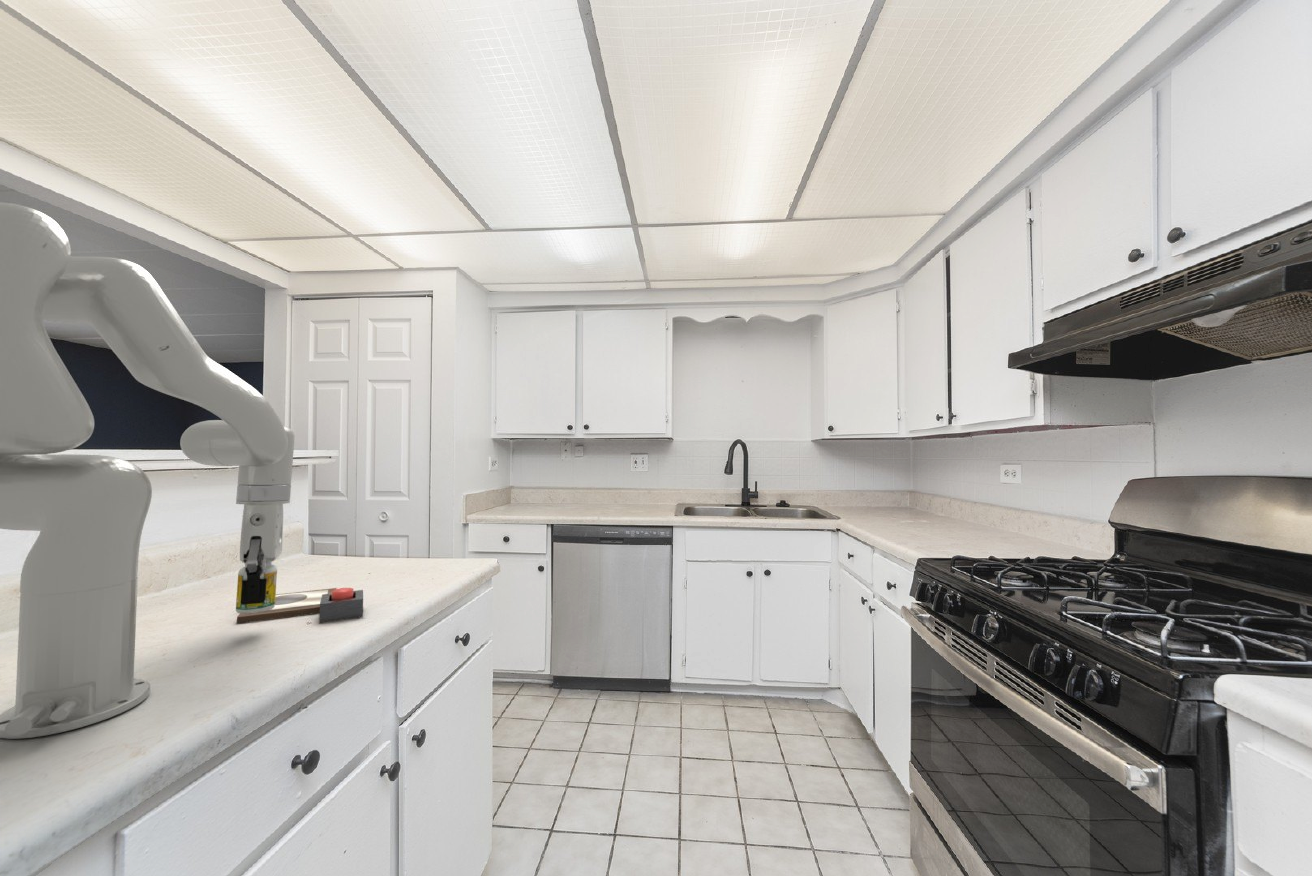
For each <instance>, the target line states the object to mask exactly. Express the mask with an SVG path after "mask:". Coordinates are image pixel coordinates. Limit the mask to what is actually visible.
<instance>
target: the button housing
mask: <svg viewBox="0 0 1312 876" xmlns="http://www.w3.org/2000/svg"><path fill="white" fill-rule="evenodd" d="M363 614H364V590H363V589H358V590H353V598H352V599H344V600H335V601H332V593H331V594H322V598H321V602H320V613H319V615H318V616H319V618H318V619H319V620H318V622H319V624H322V623H330V622H337V621H344V620H351V619H357V618H363V617H364V616H363Z"/></svg>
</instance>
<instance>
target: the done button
mask: <svg viewBox="0 0 1312 876" xmlns="http://www.w3.org/2000/svg"><path fill="white" fill-rule="evenodd" d="M353 591H354V588H353V587H341V588H337V589H335V590H333V591H332V601H335V600H344V599H352V598H353Z"/></svg>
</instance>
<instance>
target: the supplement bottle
mask: <svg viewBox="0 0 1312 876" xmlns="http://www.w3.org/2000/svg"><path fill="white" fill-rule="evenodd" d="M244 557H246V555H245V556H244ZM263 558H264V557H258V560H263ZM271 562H273V561H271V559H267V563H266V571H265V578H267V581H266V595H265V601H264V602H263V603H256V604H245V605H242V604H241V591H242V580H243V576H244V569H245V566H243V567H242V568H240V569H239V571H238V572H237V586H236V601H235V602H236V603H235V612H236V613H238V614H251V613H259V612H264V611H268V610H271V609H273V608H274V606H275V596H276V592H277V578H278V576H277V575H278V568H277V566H276V565H274V564H273V563H272V564H271ZM244 565H245V563H244ZM260 567H261V565H260Z"/></svg>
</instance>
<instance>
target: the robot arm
mask: <svg viewBox="0 0 1312 876" xmlns="http://www.w3.org/2000/svg"><path fill="white" fill-rule="evenodd" d="M44 321H47V322H52V323H60V324H61V323H62V324H90V325H91V326H92V327H93V328H94V330H95V331H96V333H97V334H98V335H99V336H100V337H101V338H102V339H103V341H104V342H105V343H106V344H107V346H108V347H109V348H110V349H111V351H112V352H113V353H114V354H115V355H116V357H117V358H118V359H119V360H120V361H121V363H122V364H123V366H125V368H126V369H127V370H128V372H129V373H130V374H131V376H132V377H133V378H134V379H135V380H136V381H137V382H138V383H141V384H142V385H144V386H145V387H148V388H150V389H153V390H155V391H157V392H160V393H162V394H165V395H168V396H171V397H174V398H177V399H180V400H184V401H185V402H189V403H192V404H193V405H196V406H199V407H201V408H202V409H205V410H206V411H209V412H210V413H212V414H213V415H215V416H217V417H218V418H220V419H221V420H220V419H214V420H213V419H212V420H209V419H208V420H203V421H199V422H196V423H194V424H192V425H190V426H189V427H187V429H185V431H183V433H182V434H181V437H180V440H179V441H180V442H179V445H180V449H181V451H182V453H183V454H184V455H185V456H186V457H187V458H188V459H189V460H190V461H192V462H195V463H197V464H201V465H205V466H212V467H215V466H216V467H238V473H237V474H238V475H237V487H236V499H235V504H236V505H243V509H242V518H241V519H242V520H241V528H240V530H241V532H240V540H239V541H240V542H239V544H240V545H239V561H240V562H242V563H245V564H244V567H245V569H244V576H243V580H242V591H241V604H242V605H245V604H256V603H263V602H264V601H265V595H266V581H267V578H265V571H266V563H267V559H271V561H272V562H274V561H276V560H277V559H278V558H279V557H280V556H281V555H282V552H283V534H284V532H283V531H284V504H290V503H291V502H290V501H291V491H292V476H293V475H292V474H293V464H294V449H295V448H294V447H295V434H294V431H293V430H292V429H290V428H289V427H285V426H284V425H283V423H282V420H281V419H280V418H279V416H278V415H277V413H276V411H275V410H274V408H273V407H272V405H271V403H270V402H269V401H268V400H267V398H266V397H265V396H264V395H263V394H262V393H260V392H259V390H257V388H255V387H253V385H251V384H249V383H248V382H246V381H245V380H244V379H242V378H241V377H239V376H238V375H236V374H235V373H233V372H232V371H230V370H229V369H228V368H226V367H224V366H223V365H222V364H220V363H217V362H216V361H215V360H213V359H212V358H210V357H209V355H207V354H206V352H205V351H204V349H202V347H201V345H200V344H199V342H198V341H197V339H196V338H195V337H194V335H193V334H192V332H191V331H190V329H189V328H188V326H187V325H186V324H185V322H184V321H183V319H182V318H181V316H180V315H179V313H178V311H177V310H176V309H175V307H174V305H173V304H172V303H171V302H170V300H169V298H168V297H167V295H166V294H165V292H164V291H163V289H162V288H161V286H160V285H159V284H158V282H157V281H156V280H155V278H154V277H153V276H152V274H151V273H150V272H149V271H147V270H146V269H145V268H144V267H142V266H141V265H139V264H137V263H135V262H132V261H130V260H127V259H123V258H118V257H111V256H110V257H109V256H89V255H88V256H72V248H71V243H70V241H69V237H68V236H67V234H66V233H65V231H64V229H63V228H62V227H61V226H60V225H59V223H58V222H57V221H55V220H54V219H53V218H52V217H50V216H48V214H45V213H44V212H42V211H39V210H37V209H35V208H32V207H28V206H24V205H22V204H17V203H10V202H1V201H0V529H1V530H7V531H10V530H11V531H34V532H36V531H37V532H39V534H38V537H37V538H36V540H35V541H34V544H33V545H32V547H31V549H30V550H29V551H28V553H27V555H26V557H25V560H24V562H23V564H22V569H21V574H20V582H19V585H20V586H19V593H20V594H19V596H20V599H19V617H18V636H17V637H18V640H17V663H16V664H17V666H16V683H15V704H14V705H13V706H11V707H10V708H8V709H7V710H5V711H3V712H2V713H1V714H0V738H2V739H8V740H10V739H13V740H15V739H16V740H21V739H33V738H38V737H44V736H46V737H47V736H50V735H56V734H60V733H64V732H69V731H72V730H73V731H74V730H77V729H79V728H83V727H87V726H90V725H94V724H98V723H99V722H102V721H105V720H107V719H110V718H113V717H115V716H117V715H120V714H122V713H124V712H127V711H129V710H131V709H133V708H134V707H135V706H138V705H139V704H141V703H142V702H143V701H145V699H147V698H148V697H149V695H150V693H151V684H150V682H149V681H148V680H145V679H142V678H136V677H135V676H134V675H135V655H136V654H135V653H136V625H137V606H138V605H137V603H138V601H137V599H138V581H139V580H138V570H139V555H140V553H139V552H140V545H141V544H140V543H141V539H142V533H143V529H144V525H145V522H146V518H147V515H148V512H149V510H150V506H151V502H152V497H153V488H152V483H151V480H150V479H149V477H148V475H147V474H146V473H145V471H144V470H143V469H142V468H140V467H139V466H138V465H136V464H135V463H132V462H130V461H128V460H126V459H122V458H119V457H115V456H110V455H99V454H69V453H67V454H66V453H65V454H64V453H63V452H66V451H70V450H73V449H75V448H77V447H79V446H81V445H82V444H84V443H86V442H87V441H88V440H89V439H90V438H91V437H92V434H93V432H94V429H95V418H94V415H93V412H92V410H91V408H90V405H89V403H88V402H87V400H86V398H85V396H84V395H83V393H82V392H81V390H80V388H79V387H78V384H77V383H76V382H75V380H74V378H73V377H72V375H71V374H70V372H69V370H68V368H67V366H66V365H65V363H64V361H63V360H62V358H61V357H60V355H59V354H58V352H57V350H56V348H55V347H54V345H53V342H52V340H51V338H50V336H49V334H48V331H47V330H46V326H45V323H44ZM57 453H59V454H57ZM60 453H63V454H60ZM245 555H246V557H244V556H245ZM258 557H264V558H263V560H258ZM272 562H271V564H272V565H273V563H272ZM260 565H261V567H260Z"/></svg>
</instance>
